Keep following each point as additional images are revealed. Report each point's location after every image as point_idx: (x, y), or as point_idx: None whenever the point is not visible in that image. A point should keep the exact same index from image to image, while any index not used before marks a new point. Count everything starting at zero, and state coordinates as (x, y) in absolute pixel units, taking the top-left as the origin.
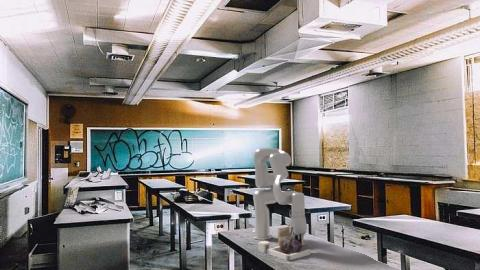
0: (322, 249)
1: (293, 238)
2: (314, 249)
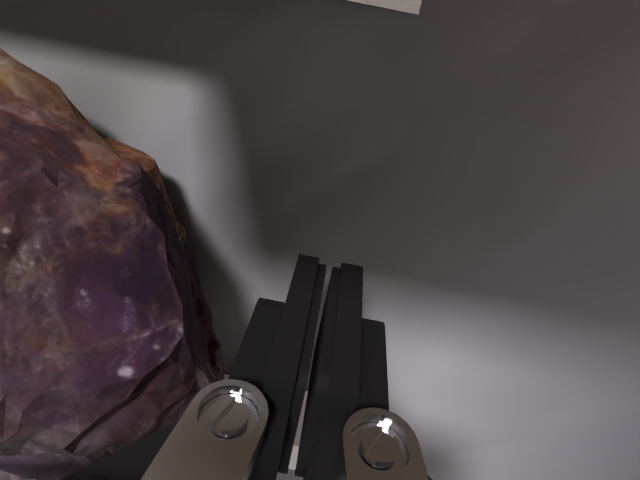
0: (627, 438)
1: (25, 456)
2: (577, 369)
